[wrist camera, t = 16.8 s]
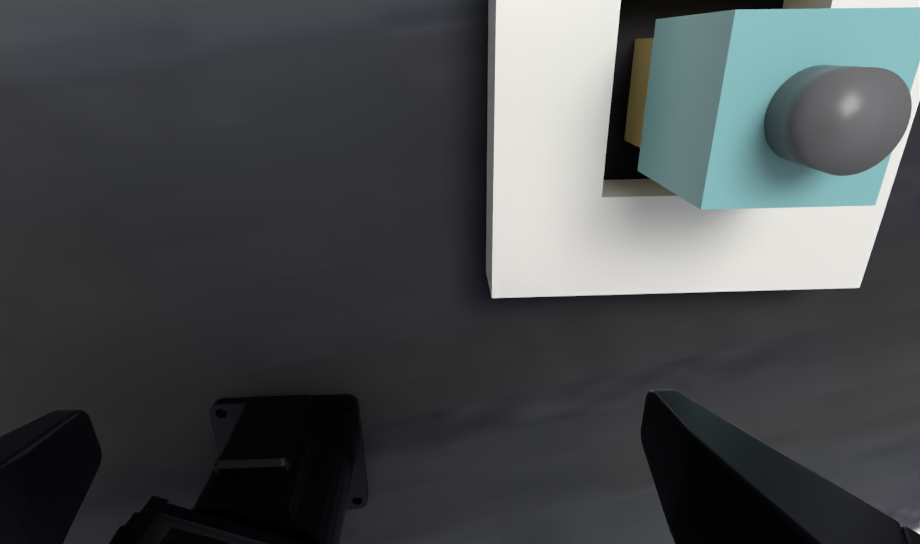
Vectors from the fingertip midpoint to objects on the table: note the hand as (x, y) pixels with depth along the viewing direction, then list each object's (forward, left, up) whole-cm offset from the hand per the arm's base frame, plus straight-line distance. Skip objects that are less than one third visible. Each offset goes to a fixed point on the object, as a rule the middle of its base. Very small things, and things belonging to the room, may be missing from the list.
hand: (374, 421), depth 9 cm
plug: (+4, -10, -13) cm, 17 cm away
